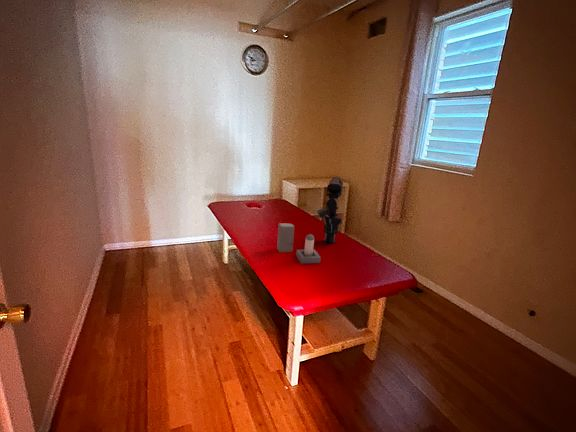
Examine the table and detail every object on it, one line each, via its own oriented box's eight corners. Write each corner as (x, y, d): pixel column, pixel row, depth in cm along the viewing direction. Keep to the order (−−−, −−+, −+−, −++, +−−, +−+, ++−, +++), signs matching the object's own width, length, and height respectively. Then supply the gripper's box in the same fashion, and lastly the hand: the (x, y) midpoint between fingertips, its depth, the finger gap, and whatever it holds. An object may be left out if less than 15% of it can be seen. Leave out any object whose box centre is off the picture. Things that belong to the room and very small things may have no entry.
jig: (296, 255, 182) (296, 249, 181) (314, 254, 184) (314, 249, 183) (300, 263, 171) (301, 258, 170) (320, 262, 174) (320, 257, 173)
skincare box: (279, 252, 183) (280, 227, 179) (276, 247, 190) (277, 222, 185) (293, 251, 186) (295, 226, 181) (290, 247, 192) (291, 222, 188)
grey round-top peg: (304, 254, 180) (306, 232, 176) (312, 255, 179) (315, 233, 175) (303, 257, 175) (305, 235, 171) (311, 259, 175) (314, 236, 170)
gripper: (314, 200, 189) (312, 225, 194) (324, 208, 172) (321, 235, 176) (331, 200, 192) (329, 225, 196) (343, 209, 174) (340, 235, 179)
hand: (329, 230), depth 187 cm, fingers open, 9 cm apart
